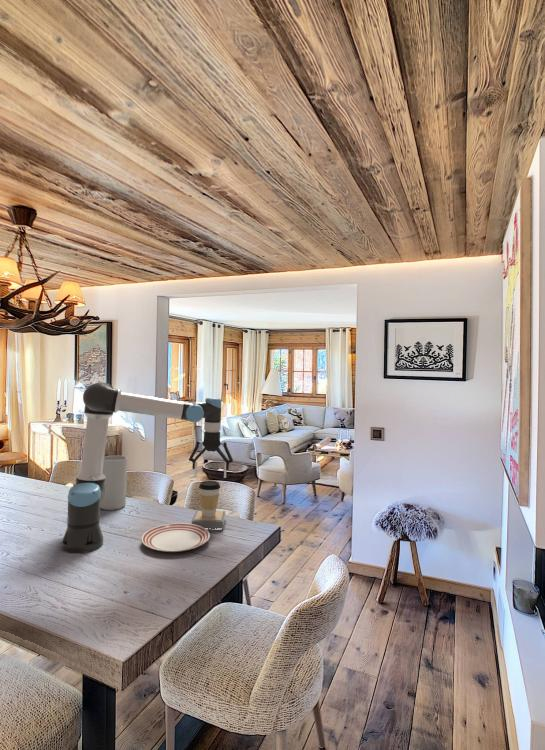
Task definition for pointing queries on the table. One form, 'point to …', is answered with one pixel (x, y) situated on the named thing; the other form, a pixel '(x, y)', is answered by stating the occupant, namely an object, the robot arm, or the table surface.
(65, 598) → the table surface
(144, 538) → the dinner plate
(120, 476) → the cylinder vase
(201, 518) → the trivet base
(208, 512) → the coffee cup
